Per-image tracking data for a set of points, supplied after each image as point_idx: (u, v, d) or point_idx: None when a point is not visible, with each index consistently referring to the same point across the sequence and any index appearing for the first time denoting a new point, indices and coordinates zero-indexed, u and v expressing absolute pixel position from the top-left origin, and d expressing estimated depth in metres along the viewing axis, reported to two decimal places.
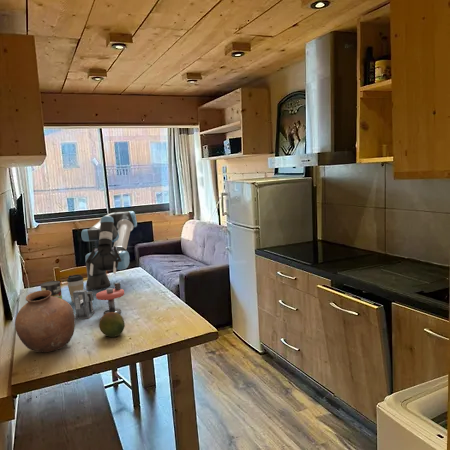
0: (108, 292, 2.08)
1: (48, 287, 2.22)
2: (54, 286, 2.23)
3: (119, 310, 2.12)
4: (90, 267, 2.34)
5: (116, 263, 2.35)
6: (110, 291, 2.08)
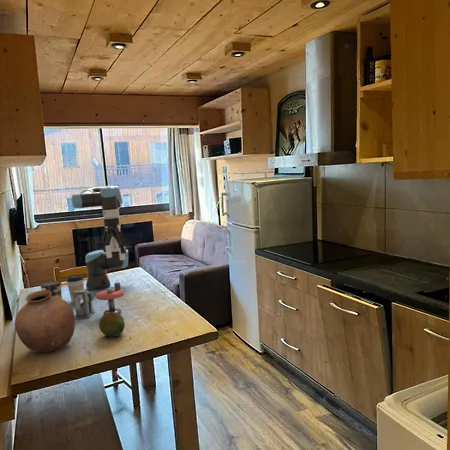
0: (108, 292, 2.08)
1: (48, 287, 2.22)
2: (54, 286, 2.23)
3: (119, 310, 2.12)
4: (106, 250, 2.14)
5: (121, 249, 2.03)
6: (110, 291, 2.08)
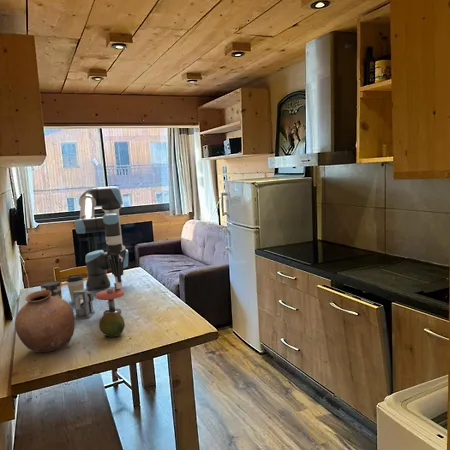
0: (108, 292, 2.08)
1: (48, 287, 2.22)
2: (54, 286, 2.23)
3: (119, 310, 2.12)
4: (115, 281, 2.12)
5: (118, 278, 2.11)
6: (110, 291, 2.08)
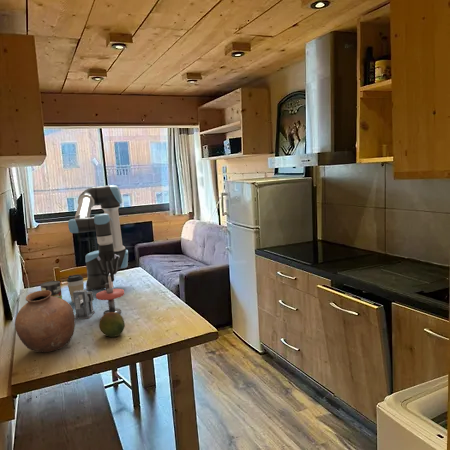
0: (111, 292, 2.09)
1: (48, 287, 2.22)
2: (54, 286, 2.23)
3: (119, 310, 2.12)
4: (108, 281, 2.13)
5: (112, 277, 2.13)
6: (112, 290, 2.09)
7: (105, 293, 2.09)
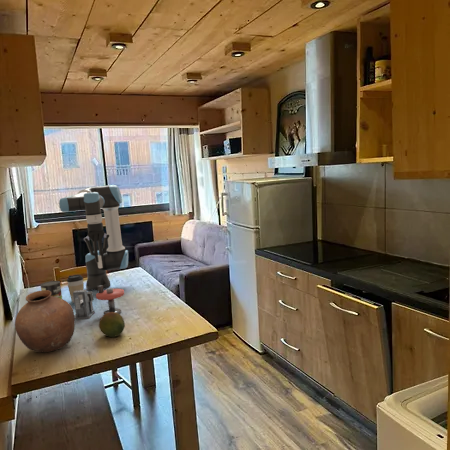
0: (112, 291, 2.10)
1: (48, 287, 2.22)
2: (54, 286, 2.23)
3: (119, 310, 2.12)
4: (99, 260, 2.09)
5: (102, 257, 2.11)
6: None
7: (107, 294, 2.08)
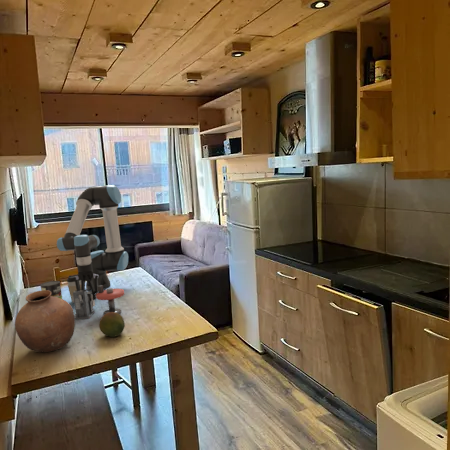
0: (112, 291, 2.10)
1: (48, 287, 2.22)
2: (54, 286, 2.23)
3: (119, 310, 2.12)
4: None
5: (93, 296, 2.20)
6: None
7: (107, 294, 2.08)
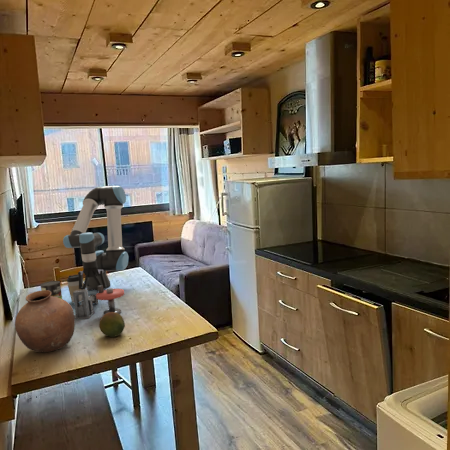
0: (112, 291, 2.10)
1: (48, 287, 2.22)
2: (54, 286, 2.23)
3: (119, 310, 2.12)
4: None
5: None
6: None
7: (107, 294, 2.08)
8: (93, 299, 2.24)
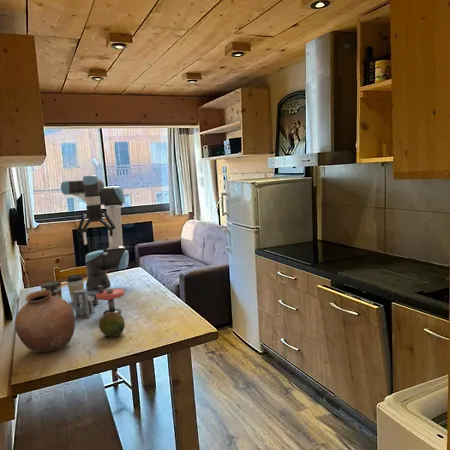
0: (112, 291, 2.10)
1: (48, 287, 2.22)
2: (54, 286, 2.23)
3: (119, 310, 2.12)
4: (83, 237, 2.20)
5: (110, 232, 2.20)
6: None
7: (107, 294, 2.08)
8: (93, 299, 2.24)
